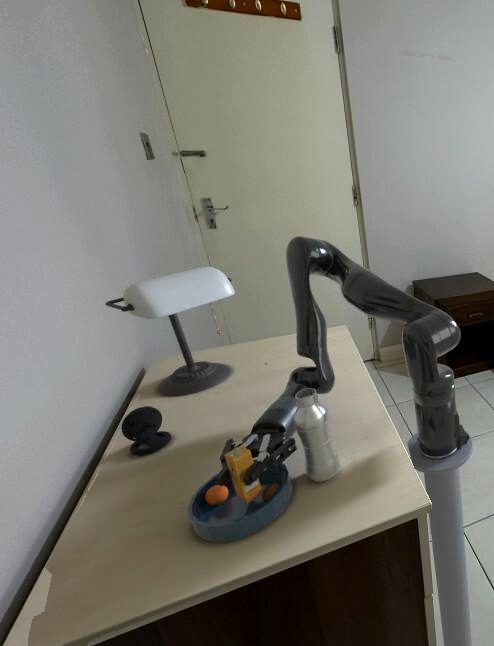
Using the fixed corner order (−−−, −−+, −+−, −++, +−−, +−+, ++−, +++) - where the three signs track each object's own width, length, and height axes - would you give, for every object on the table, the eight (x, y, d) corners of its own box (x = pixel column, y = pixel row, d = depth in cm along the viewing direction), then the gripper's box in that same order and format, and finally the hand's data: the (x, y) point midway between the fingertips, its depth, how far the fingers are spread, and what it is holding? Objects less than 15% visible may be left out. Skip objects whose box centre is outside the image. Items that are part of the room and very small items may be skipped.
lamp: (177, 416, 103) (127, 293, 90) (128, 394, 113) (76, 280, 99) (269, 369, 125) (240, 264, 111) (221, 354, 135) (189, 256, 121)
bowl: (295, 464, 86) (291, 450, 84) (288, 524, 72) (283, 508, 70) (208, 486, 81) (202, 471, 79) (182, 555, 67) (174, 539, 65)
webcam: (157, 432, 97) (142, 397, 93) (180, 436, 95) (166, 401, 91) (122, 453, 90) (104, 417, 86) (146, 459, 88) (129, 422, 84)
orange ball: (231, 502, 77) (226, 485, 79) (229, 495, 75) (224, 478, 76) (209, 511, 75) (205, 494, 76) (206, 505, 72) (202, 487, 74)
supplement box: (265, 491, 76) (251, 449, 72) (247, 504, 73) (232, 462, 69) (254, 484, 77) (240, 444, 73) (236, 497, 74) (221, 456, 70)
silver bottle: (348, 465, 85) (331, 386, 77) (327, 489, 79) (306, 406, 72) (323, 459, 87) (305, 381, 79) (301, 482, 81) (278, 400, 73)
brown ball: (281, 481, 79) (286, 482, 76) (280, 501, 78) (285, 502, 75) (260, 484, 76) (265, 485, 74) (259, 504, 75) (264, 506, 73)
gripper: (243, 407, 84) (185, 466, 68) (310, 405, 84) (268, 465, 68) (252, 435, 87) (199, 498, 71) (317, 434, 87) (278, 497, 71)
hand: (233, 481), depth 70 cm, fingers closed on supplement box, 4 cm apart
